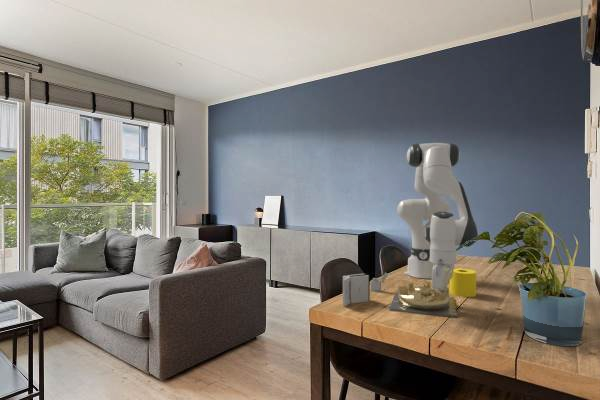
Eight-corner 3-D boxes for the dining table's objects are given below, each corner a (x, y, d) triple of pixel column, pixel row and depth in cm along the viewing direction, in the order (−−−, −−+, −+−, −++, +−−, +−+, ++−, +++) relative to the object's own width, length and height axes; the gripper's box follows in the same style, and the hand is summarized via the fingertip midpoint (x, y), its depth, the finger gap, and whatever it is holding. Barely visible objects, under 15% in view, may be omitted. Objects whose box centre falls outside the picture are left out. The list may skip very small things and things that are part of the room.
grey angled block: (370, 290, 149) (370, 272, 149) (371, 289, 151) (371, 271, 151) (387, 292, 147) (387, 273, 146) (388, 291, 148) (388, 272, 148)
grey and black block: (344, 307, 128) (344, 279, 127) (335, 303, 132) (334, 277, 132) (371, 300, 135) (371, 274, 135) (361, 297, 140) (361, 272, 140)
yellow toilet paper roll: (479, 297, 138) (479, 274, 138) (452, 296, 140) (452, 273, 140) (472, 290, 148) (472, 268, 148) (447, 289, 150) (447, 268, 150)
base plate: (395, 293, 144) (395, 291, 144) (453, 299, 136) (453, 296, 136) (389, 310, 124) (389, 307, 124) (457, 317, 116) (457, 315, 116)
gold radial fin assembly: (438, 295, 139) (438, 280, 139) (457, 309, 121) (457, 293, 121) (393, 294, 139) (393, 280, 139) (405, 309, 121) (405, 293, 121)
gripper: (446, 263, 114) (446, 305, 115) (456, 253, 131) (456, 289, 132) (427, 261, 118) (426, 302, 118) (439, 252, 135) (439, 287, 135)
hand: (442, 295), depth 125 cm, fingers closed
